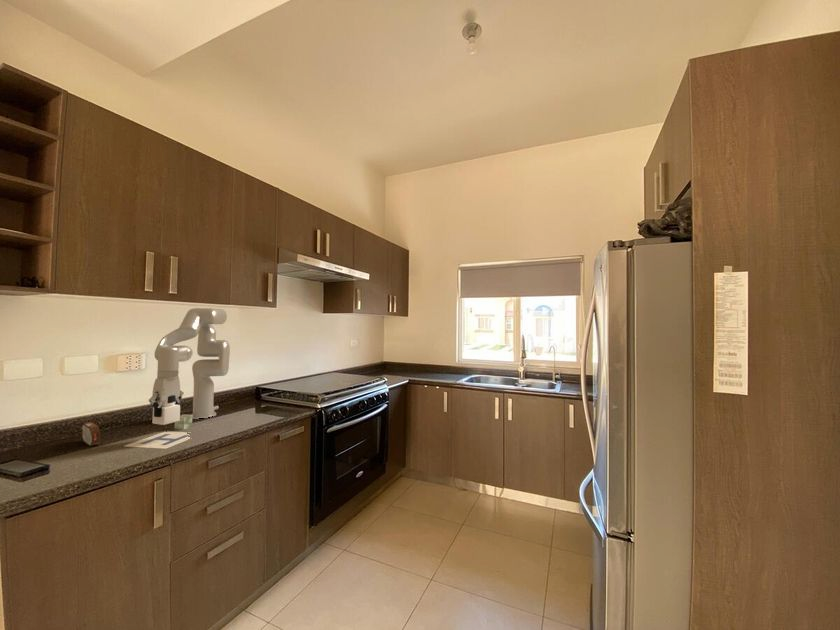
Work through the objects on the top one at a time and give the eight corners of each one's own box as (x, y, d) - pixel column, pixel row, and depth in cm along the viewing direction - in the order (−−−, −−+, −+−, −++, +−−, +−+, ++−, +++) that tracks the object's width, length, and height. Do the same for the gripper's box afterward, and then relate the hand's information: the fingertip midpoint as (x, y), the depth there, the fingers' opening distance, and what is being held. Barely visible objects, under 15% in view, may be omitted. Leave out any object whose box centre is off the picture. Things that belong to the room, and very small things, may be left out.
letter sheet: (165, 431, 159) (165, 431, 159) (203, 433, 156) (203, 433, 156) (123, 446, 139) (123, 446, 139) (166, 448, 136) (166, 448, 136)
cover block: (182, 426, 167) (183, 414, 167) (192, 427, 166) (192, 414, 167) (174, 429, 162) (174, 417, 162) (183, 430, 162) (184, 417, 162)
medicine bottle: (168, 419, 152) (169, 392, 153) (180, 420, 150) (181, 393, 151) (151, 423, 145) (153, 395, 146) (163, 425, 143) (164, 397, 144)
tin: (100, 446, 139) (101, 425, 139) (90, 448, 136) (91, 427, 137) (90, 439, 147) (91, 420, 148) (80, 441, 145) (81, 421, 145)
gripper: (176, 371, 158) (175, 409, 157) (141, 377, 141) (140, 419, 140) (191, 372, 157) (189, 409, 156) (157, 377, 140) (156, 419, 139)
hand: (166, 414), depth 148 cm, fingers closed on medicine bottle, 7 cm apart
